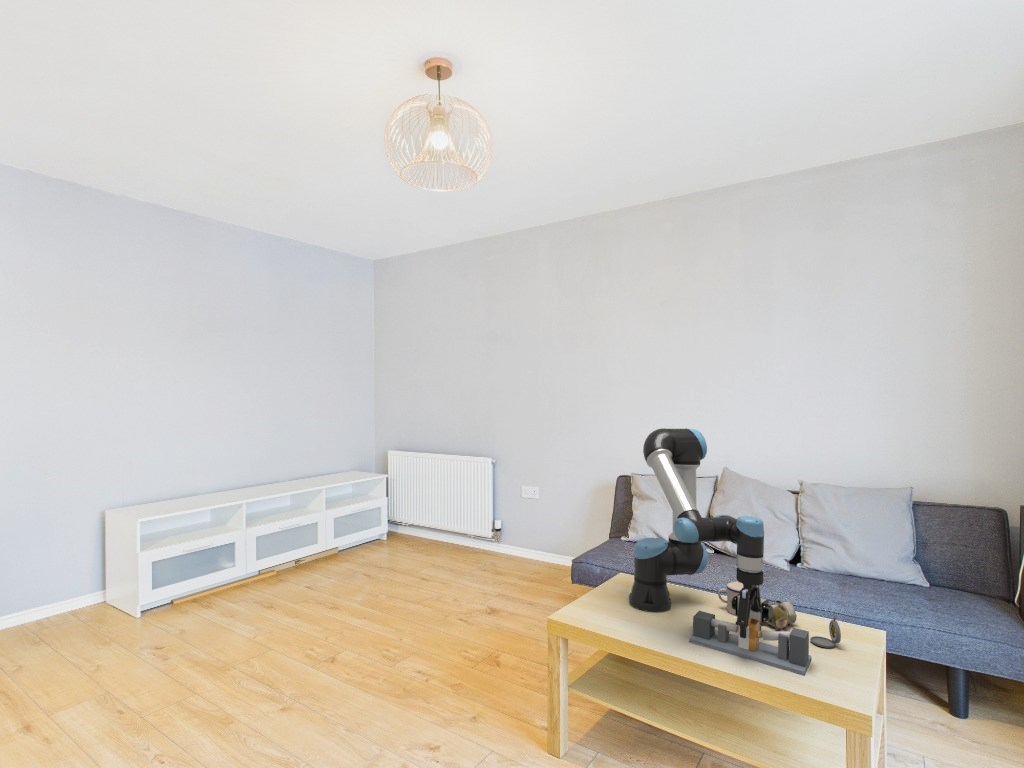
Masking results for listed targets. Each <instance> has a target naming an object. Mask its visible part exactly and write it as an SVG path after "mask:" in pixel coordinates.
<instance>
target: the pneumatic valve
mask: <svg viewBox="0 0 1024 768" xmlns="http://www.w3.org/2000/svg"><path fill="white" fill-rule="evenodd" d="M760 598H761V609H763V611H762V612H759V613H760V622H762V624H764V623H766V622H767V620H768V619H769V620H771V618H772V616H773V607H772V606H771V605H770V602H769V601H770V600H769V599H767V598H763V597H760ZM739 599H740V594H738V595H737V596H734V597H733V599H732V608H733V609H734V610H735V612H736V615H735V616H737V615H738V607H739ZM750 611H753V610H750ZM749 618H750V616H749ZM765 621H766V622H765ZM759 631H760V632H761V633H762V625H761V624H760V625H759Z"/></svg>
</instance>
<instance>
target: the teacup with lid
mask: <svg viewBox="0 0 1024 768" xmlns="http://www.w3.org/2000/svg"><path fill="white" fill-rule="evenodd" d="M743 586H744V585H743V584H742V583H741V582H739V581H738V580H737V579H736V581H731V582H729V583H727V584H726V588H720V589H718V591H717V596H718V599H719V600H720V601H721V602H722V603H724V604H726V610H727V611H728V612H729V614H731V615H733V616H738V615H736V612H735V610H734V609H733V608H732V599H733V597H734V596H737V595H738V594H740V590H741V589H742V588H743ZM721 592H726V593H727V594H726V600H725V599H724V598H722V596H721Z"/></svg>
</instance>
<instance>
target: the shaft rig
mask: <svg viewBox="0 0 1024 768" xmlns="http://www.w3.org/2000/svg"><path fill="white" fill-rule="evenodd" d="M692 620H693V621H692V635H691V636H690V637H688V643H692V644H695V645H699V646H702V647H706V648H709V649H712V650H717V651H719V652H723V653H726V654H730V655H733V656H737V657H740V658H743V659H747V660H751V661H754V662H756V663H761V664H765V665H768V666H770V667H774V668H776V669H781V670H785V671H788V672H792V673H795V674H798V675H802V676H805V675H806V672H807V670H808V668H809V666H810V663H811V661H812V655H809V654H810V652H809V651H810V650H809V649H810V645H809V644H810V641H809V640H810V639H809V638H810V636H809V635H810V634H809V633H810V631H809V630H805V629H800V628H797V627H792V629H791V631H788V630H781V631H779V630H777V631H776V630H775V631H771V630H770V631H769V630H766V631H765V630H764V631H763V630H761V637H762V640H763V641H777V646H776V645H772V644H769V643H764V642H762V641H759V648H758V649H757V651H756V652H753V651H750V650H746V649H743V648H740V647H738V645H739V635H736V634H738V632H739V625H736V623H732V622H729V621H725V620H720V619H716V614H714V613H710V612H706V611H702V610H698V612H696V613H695V614H694V615H693V617H692ZM730 632H731V633H730ZM732 633H734V634H732Z"/></svg>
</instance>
